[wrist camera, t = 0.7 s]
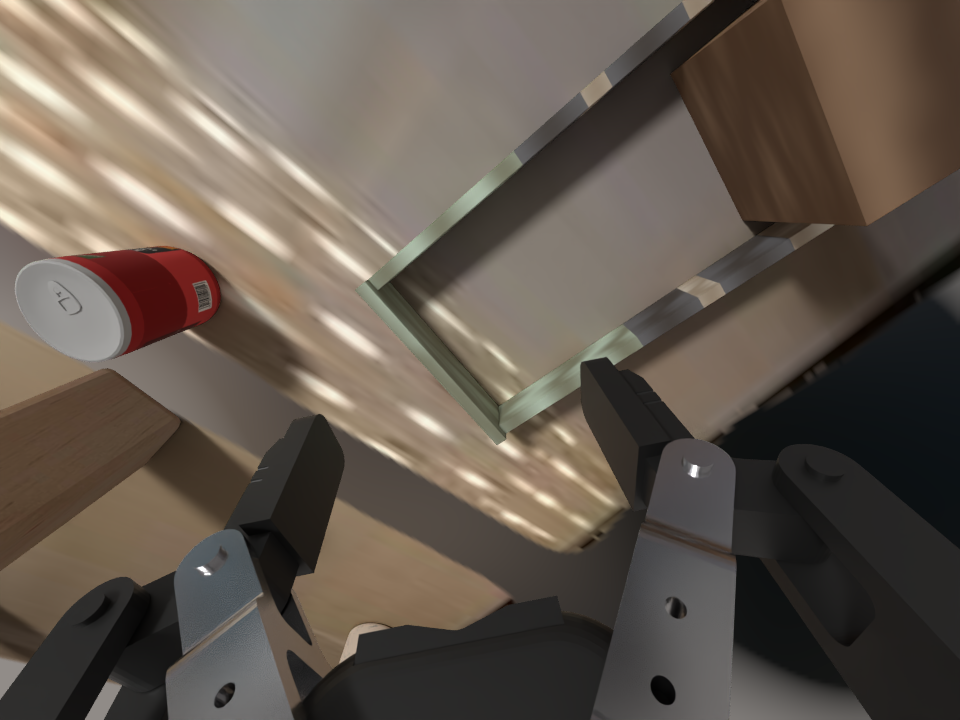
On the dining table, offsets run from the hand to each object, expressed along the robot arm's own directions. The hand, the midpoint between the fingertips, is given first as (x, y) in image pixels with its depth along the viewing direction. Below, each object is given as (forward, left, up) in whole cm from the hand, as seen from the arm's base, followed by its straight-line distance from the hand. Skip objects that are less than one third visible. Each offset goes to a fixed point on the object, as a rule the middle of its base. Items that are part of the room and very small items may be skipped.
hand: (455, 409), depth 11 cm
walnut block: (-17, +23, -26) cm, 39 cm away
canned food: (+5, -30, -27) cm, 40 cm away
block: (+22, -40, -27) cm, 53 cm away
